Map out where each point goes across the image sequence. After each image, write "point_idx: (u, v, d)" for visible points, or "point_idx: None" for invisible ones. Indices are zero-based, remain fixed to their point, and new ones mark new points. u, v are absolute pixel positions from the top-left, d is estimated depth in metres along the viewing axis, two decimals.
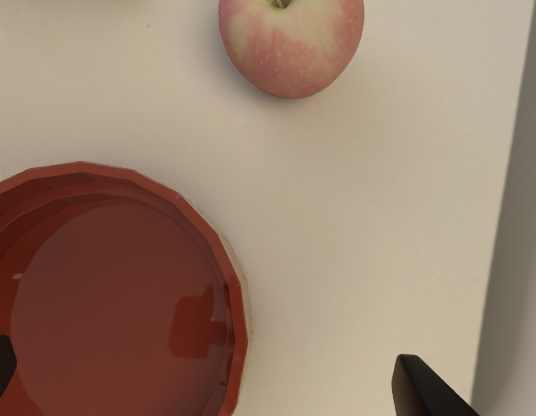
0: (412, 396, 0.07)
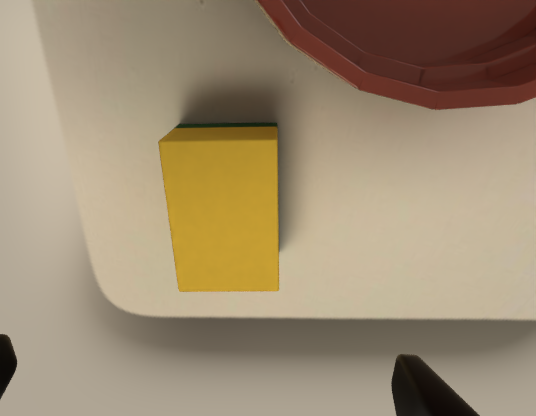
0: (412, 396, 0.07)
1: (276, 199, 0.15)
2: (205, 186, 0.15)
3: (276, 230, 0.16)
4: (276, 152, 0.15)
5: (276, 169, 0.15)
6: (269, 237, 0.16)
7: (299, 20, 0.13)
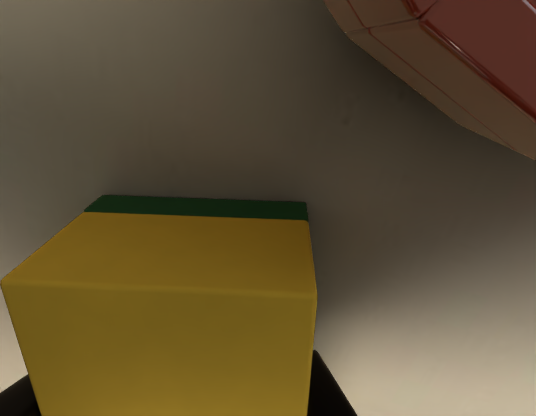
0: None
1: None
2: (129, 382, 0.06)
3: None
4: (312, 323, 0.05)
5: (308, 359, 0.06)
6: None
7: None
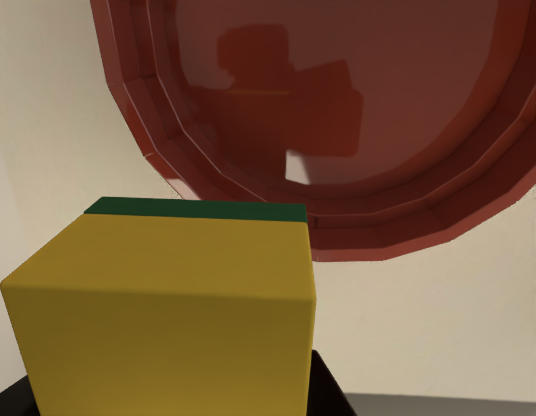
0: None
1: None
2: (128, 384, 0.06)
3: None
4: (311, 325, 0.05)
5: (307, 361, 0.06)
6: None
7: (212, 178, 0.16)
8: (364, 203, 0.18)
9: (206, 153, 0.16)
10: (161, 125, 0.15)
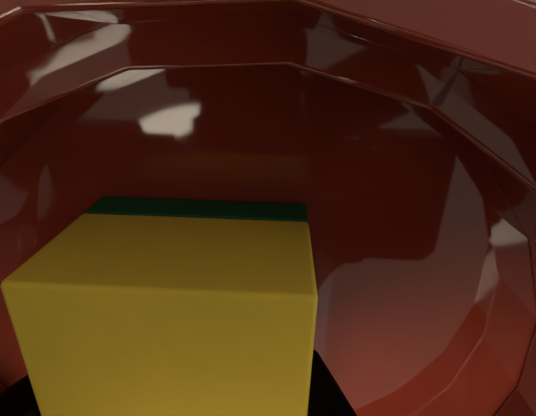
0: None
1: None
2: (129, 384, 0.06)
3: None
4: (312, 325, 0.05)
5: (309, 360, 0.06)
6: None
7: None
8: None
9: None
10: None
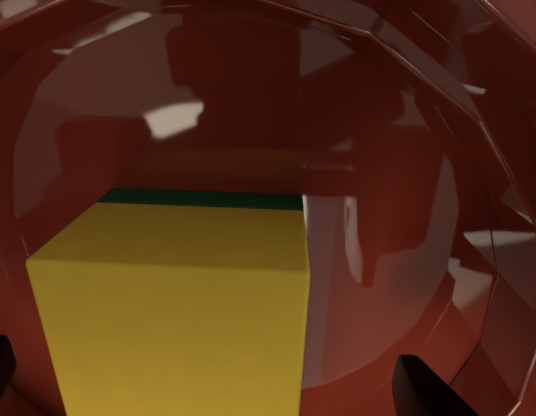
0: (412, 396, 0.07)
1: (297, 387, 0.07)
2: (139, 355, 0.07)
3: None
4: (305, 299, 0.06)
5: (302, 332, 0.06)
6: None
7: None
8: None
9: None
10: None
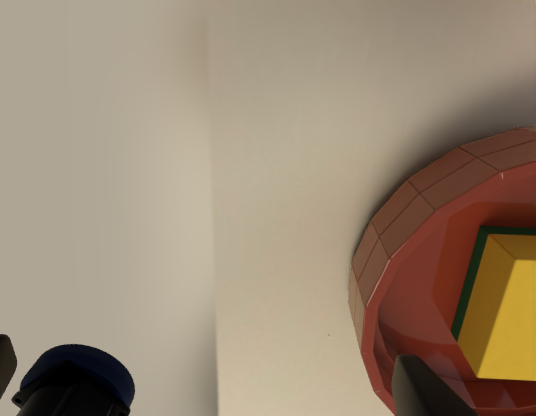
0: (412, 396, 0.07)
1: None
2: None
3: None
4: None
5: None
6: None
7: None
8: (506, 391, 0.23)
9: None
10: (375, 355, 0.20)
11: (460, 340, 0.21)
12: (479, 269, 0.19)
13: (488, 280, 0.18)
